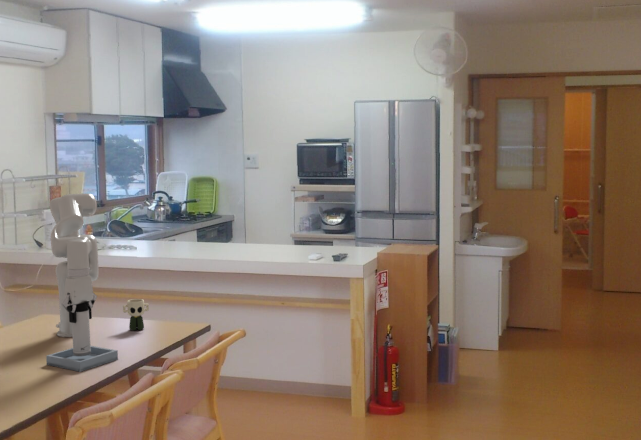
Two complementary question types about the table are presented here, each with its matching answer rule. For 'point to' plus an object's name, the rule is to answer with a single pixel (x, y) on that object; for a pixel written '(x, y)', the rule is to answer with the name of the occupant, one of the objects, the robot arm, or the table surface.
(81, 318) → the travel mug
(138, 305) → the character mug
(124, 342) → the table surface
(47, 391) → the table surface
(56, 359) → the tray
